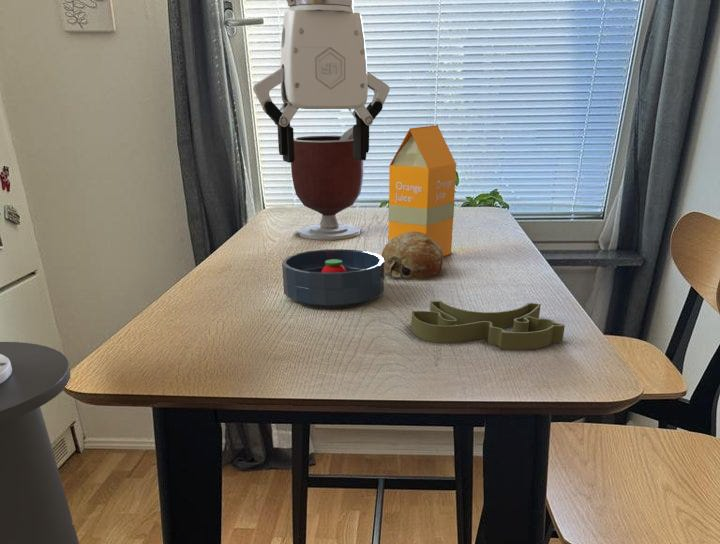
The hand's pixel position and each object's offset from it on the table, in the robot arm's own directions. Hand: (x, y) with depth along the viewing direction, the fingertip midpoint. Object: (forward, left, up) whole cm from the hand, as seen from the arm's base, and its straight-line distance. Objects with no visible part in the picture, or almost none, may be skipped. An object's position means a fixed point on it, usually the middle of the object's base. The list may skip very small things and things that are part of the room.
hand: (324, 160), depth 87 cm
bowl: (+1, 0, -18) cm, 18 cm away
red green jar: (+1, 0, -17) cm, 17 cm away
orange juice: (+23, +18, -18) cm, 34 cm away
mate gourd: (+15, +42, -18) cm, 48 cm away
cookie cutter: (+13, -22, -18) cm, 31 cm away
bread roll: (+17, +8, -18) cm, 26 cm away
